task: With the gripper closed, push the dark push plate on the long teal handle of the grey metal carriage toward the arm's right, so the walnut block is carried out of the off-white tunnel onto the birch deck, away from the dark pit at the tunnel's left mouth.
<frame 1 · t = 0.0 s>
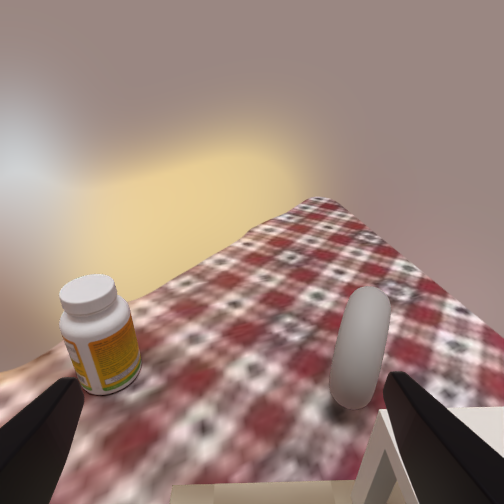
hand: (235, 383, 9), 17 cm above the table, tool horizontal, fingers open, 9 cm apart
supplement bottle: (112, 373, 30), on the table
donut: (350, 386, 29), on the table
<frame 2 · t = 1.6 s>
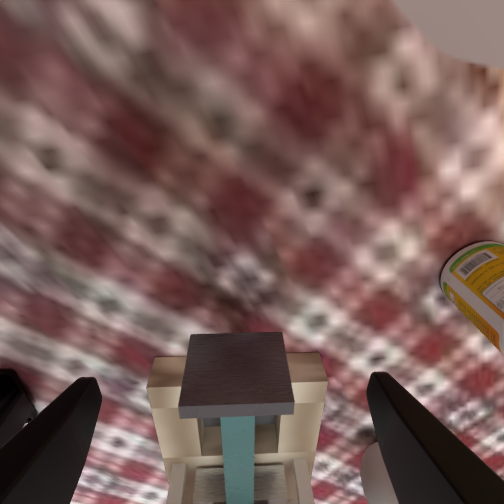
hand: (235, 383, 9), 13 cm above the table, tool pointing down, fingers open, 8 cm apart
supplement bottle: (472, 269, 24), on the table
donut: (386, 441, 34), on the table
deck: (240, 454, 34), on the table
carriage: (239, 475, 25), point 6 cm above the table, slide at 0.0 cm
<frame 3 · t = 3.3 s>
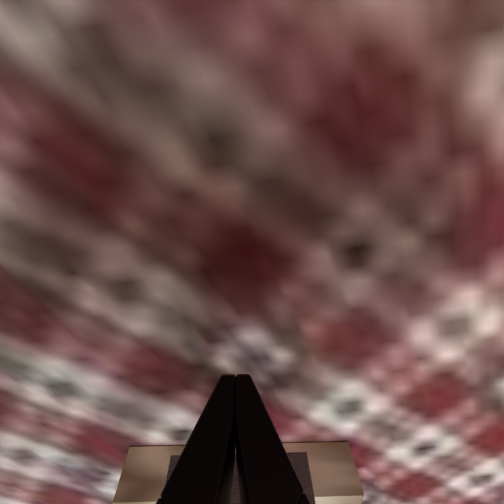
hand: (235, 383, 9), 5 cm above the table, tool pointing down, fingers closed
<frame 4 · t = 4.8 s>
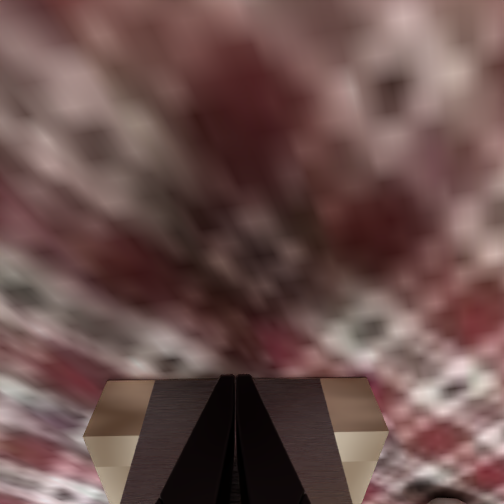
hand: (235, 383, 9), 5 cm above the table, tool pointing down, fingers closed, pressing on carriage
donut: (444, 496, 25), on the table
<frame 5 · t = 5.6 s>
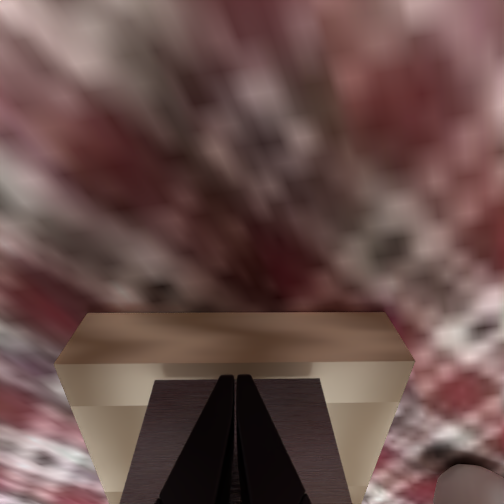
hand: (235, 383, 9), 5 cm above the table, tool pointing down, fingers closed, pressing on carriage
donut: (464, 464, 22), on the table
deck: (238, 480, 22), on the table
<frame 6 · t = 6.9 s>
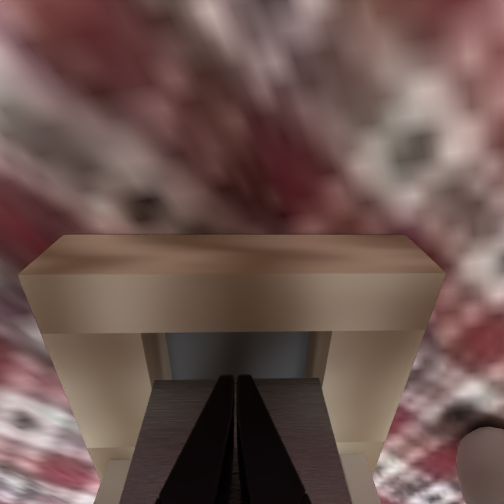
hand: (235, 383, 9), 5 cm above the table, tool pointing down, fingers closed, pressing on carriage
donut: (486, 429, 20), on the table
deck: (239, 447, 20), on the table
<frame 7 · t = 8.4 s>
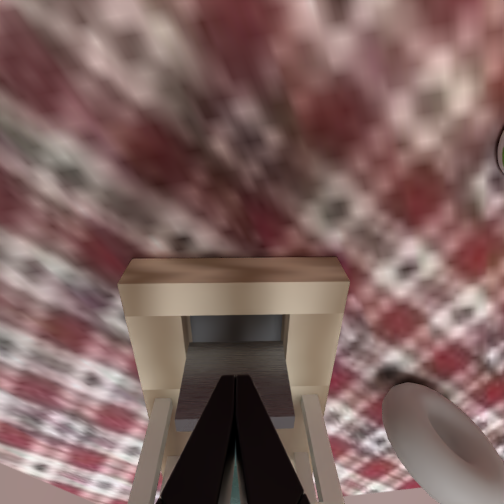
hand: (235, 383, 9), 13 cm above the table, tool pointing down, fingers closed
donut: (410, 385, 29), on the table
deck: (237, 399, 29), on the table
carriage: (237, 483, 24), point 6 cm above the table, slide at -10.0 cm
tunnel: (237, 486, 23), on the deck, point 7 cm above the table
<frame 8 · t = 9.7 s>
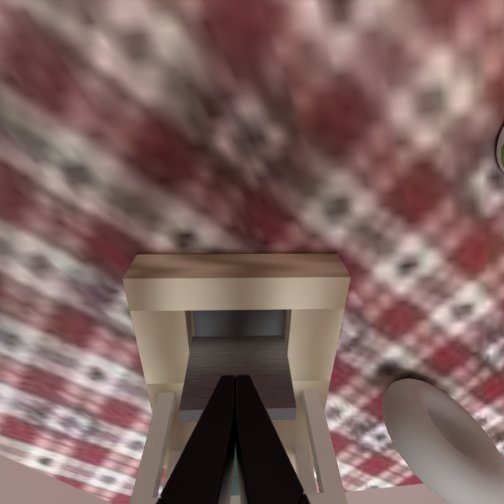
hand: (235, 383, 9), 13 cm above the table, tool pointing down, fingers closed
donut: (410, 382, 30), on the table
deck: (239, 394, 29), on the table
carriage: (239, 476, 25), point 6 cm above the table, slide at -10.0 cm
tunnel: (239, 478, 23), on the deck, point 7 cm above the table
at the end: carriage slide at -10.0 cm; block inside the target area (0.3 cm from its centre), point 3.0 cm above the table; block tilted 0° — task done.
